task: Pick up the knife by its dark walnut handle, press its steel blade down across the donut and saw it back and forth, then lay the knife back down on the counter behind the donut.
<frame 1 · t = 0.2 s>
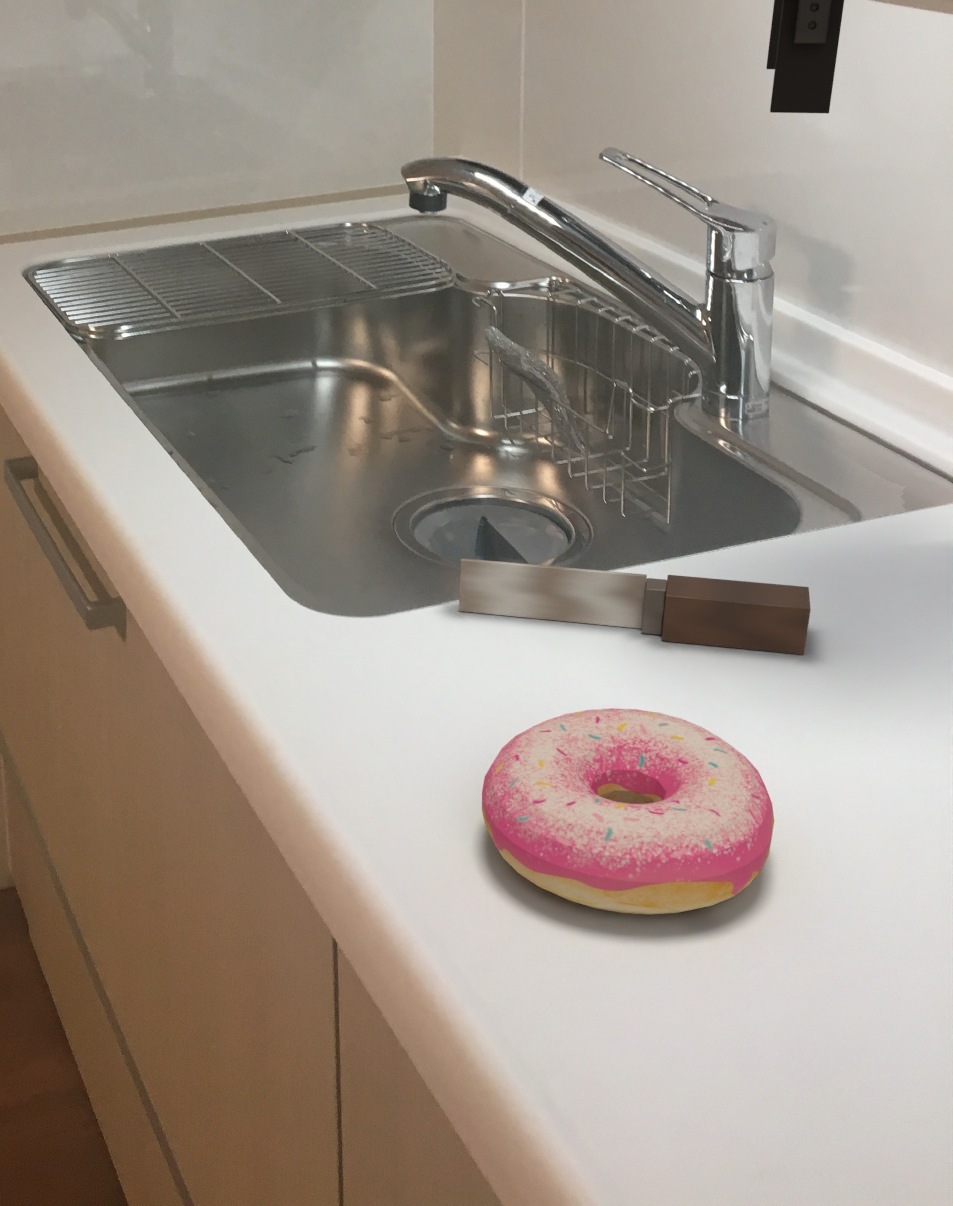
hand: (795, 89, 86), 31 cm above the table, tool pointing down, fingers open, 13 cm apart
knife: (731, 636, 98), on the table
donut: (620, 854, 79), on the table
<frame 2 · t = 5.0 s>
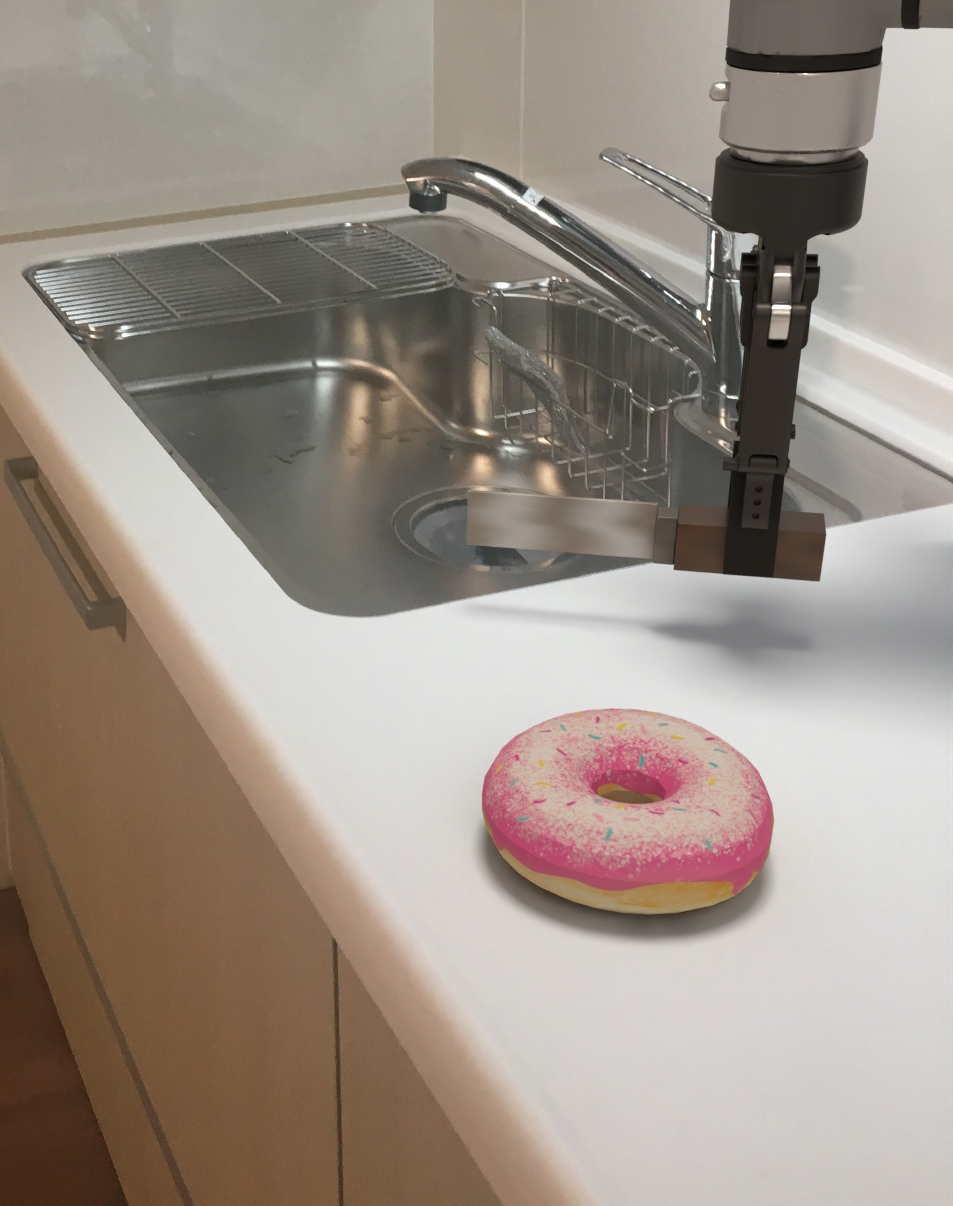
hand: (747, 559, 96), 5 cm above the table, tool pointing down, fingers closed on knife, 3 cm apart
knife: (745, 565, 96), point 5 cm above the table, touching gripper
everything else where it was.
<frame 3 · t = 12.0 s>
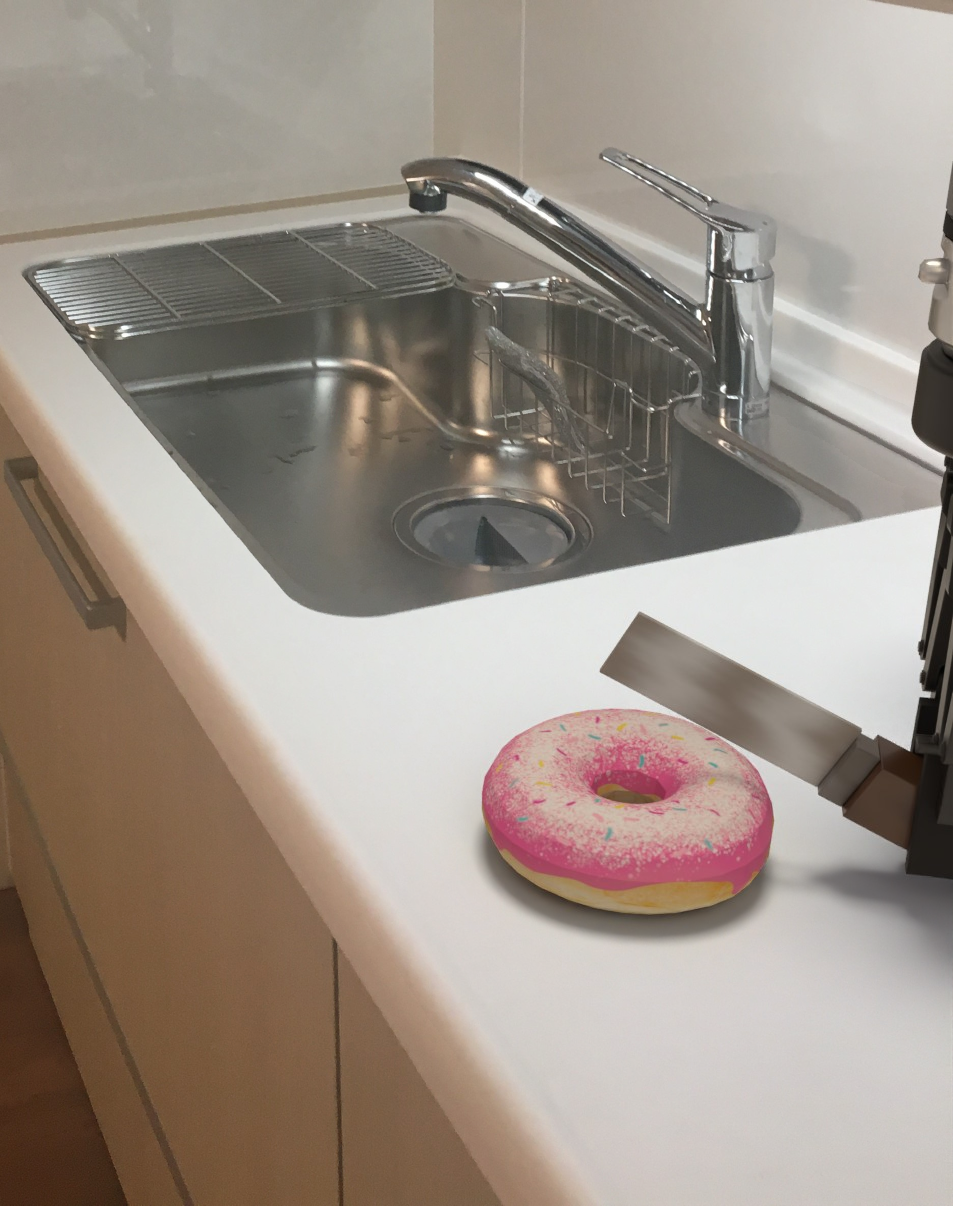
hand: (934, 848, 74), 2 cm above the table, tool pointing down, fingers closed on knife, 3 cm apart
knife: (920, 841, 74), point 3 cm above the table, tilted 25°, touching gripper
everything else where it was.
when the fingers open (0 cm above the table, at t = 19.3 s): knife stays where it is, on the table.
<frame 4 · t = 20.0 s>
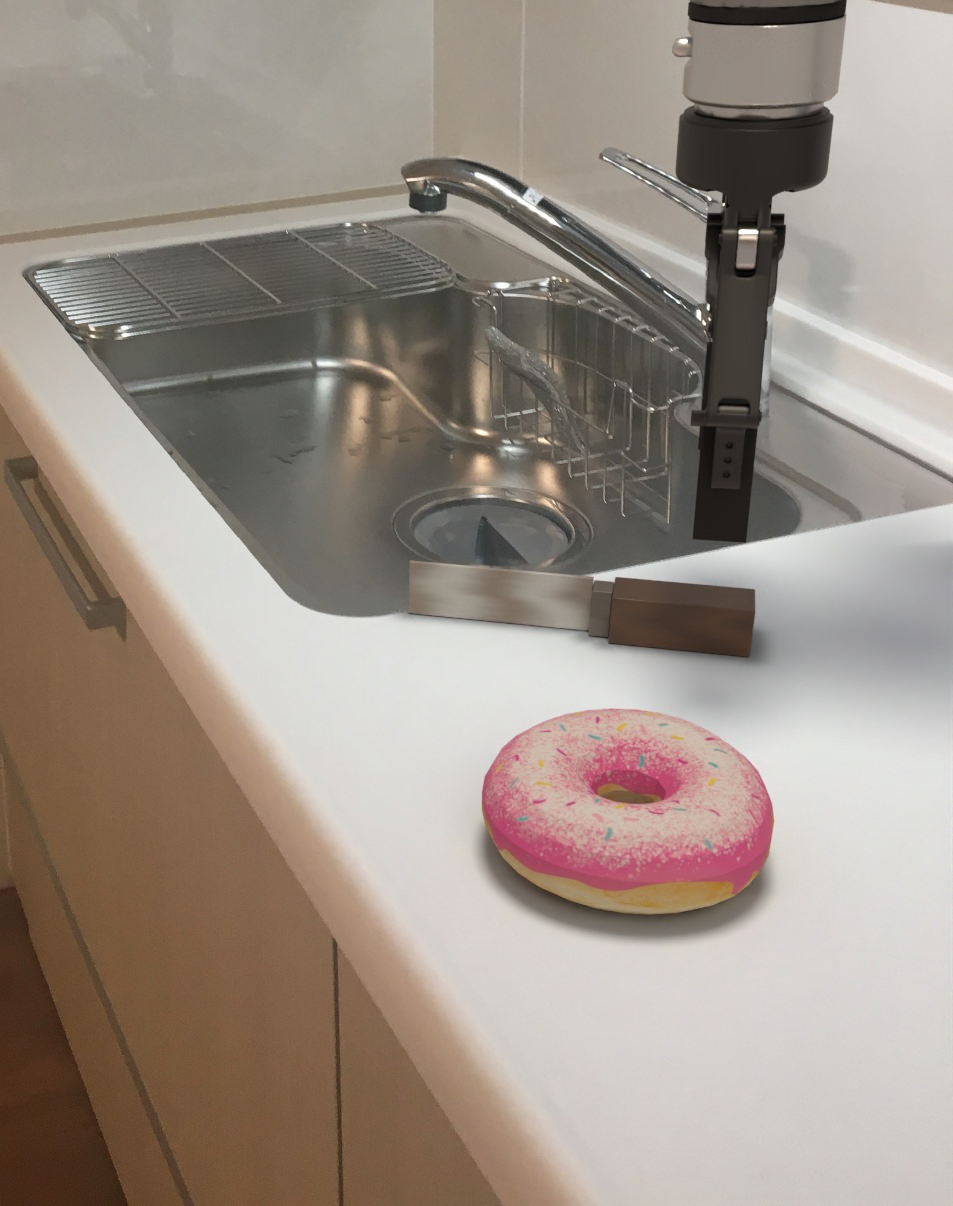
hand: (720, 491, 93), 10 cm above the table, tool pointing down, fingers open, 13 cm apart
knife: (678, 638, 98), on the table
everything else where it was.
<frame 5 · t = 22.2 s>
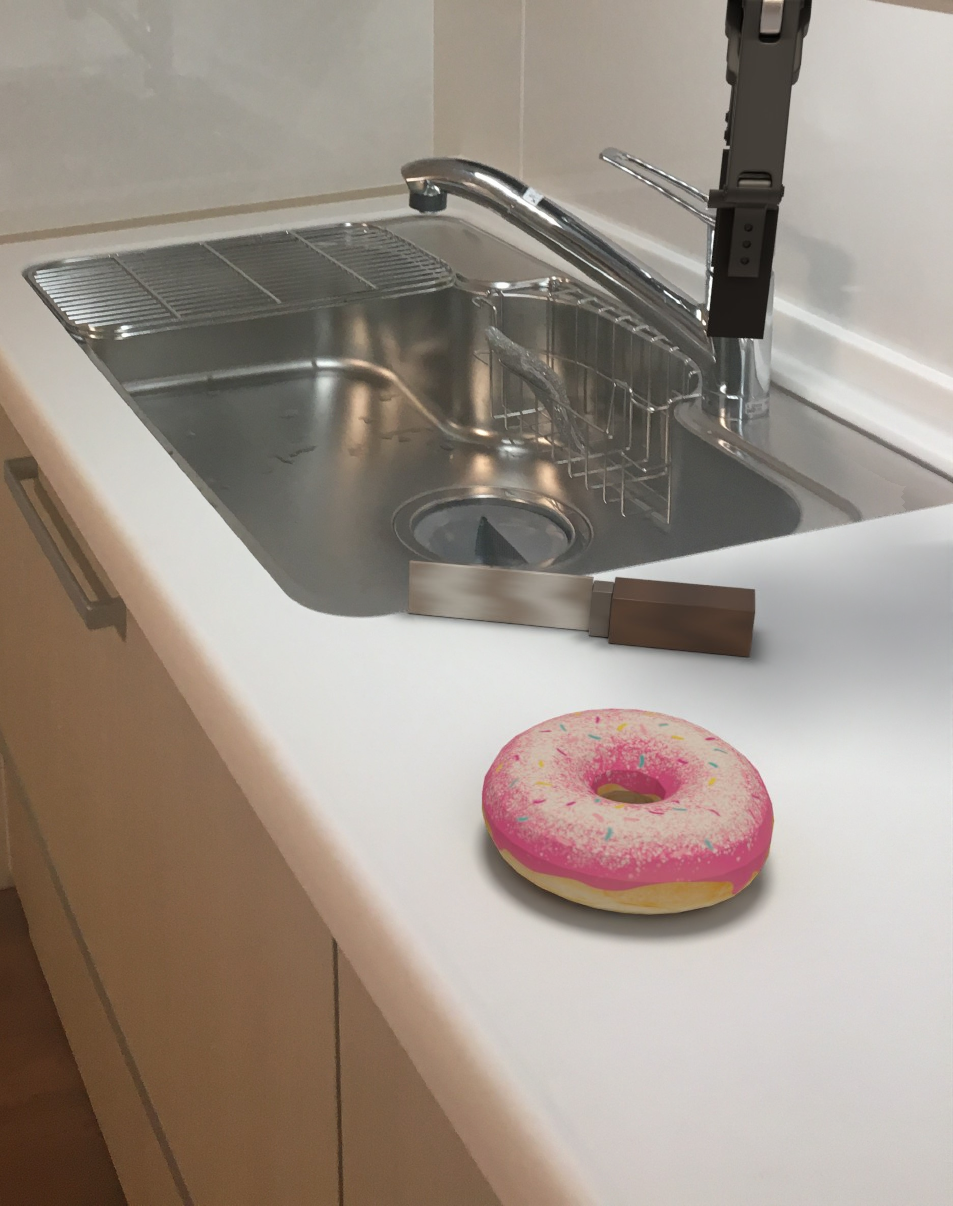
hand: (735, 299, 89), 21 cm above the table, tool pointing down, fingers open, 13 cm apart
nothing on the table moved.
at the end: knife inside the target area (1.0 cm from its centre), on the table; the gripper is holding nothing; donut moved 0.2 cm from its start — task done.
